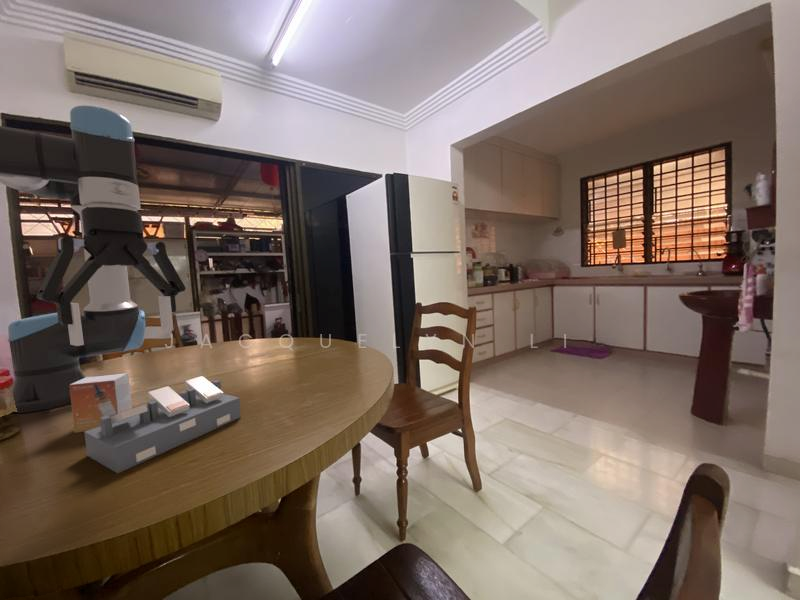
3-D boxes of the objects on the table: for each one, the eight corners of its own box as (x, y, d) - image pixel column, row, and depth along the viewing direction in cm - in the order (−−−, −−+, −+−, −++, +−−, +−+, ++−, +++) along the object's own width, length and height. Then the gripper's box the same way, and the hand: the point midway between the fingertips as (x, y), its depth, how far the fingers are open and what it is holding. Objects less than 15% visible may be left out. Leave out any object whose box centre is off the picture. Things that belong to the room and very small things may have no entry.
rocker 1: (105, 426, 58) (103, 418, 58) (129, 417, 61) (127, 410, 61) (123, 419, 54) (121, 411, 54) (147, 410, 57) (145, 403, 57)
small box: (73, 434, 66) (67, 384, 65) (91, 422, 72) (85, 376, 71) (119, 427, 68) (114, 379, 67) (133, 416, 74) (128, 372, 73)
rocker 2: (147, 397, 64) (148, 391, 64) (167, 391, 67) (168, 385, 67) (169, 417, 61) (169, 411, 60) (189, 409, 64) (189, 403, 64)
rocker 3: (184, 385, 70) (185, 380, 70) (201, 380, 73) (202, 375, 73) (206, 403, 67) (206, 397, 67) (222, 397, 70) (223, 391, 70)
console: (87, 455, 58) (81, 414, 57) (208, 408, 77) (205, 376, 76) (118, 473, 52) (112, 427, 51) (241, 417, 71) (238, 383, 70)
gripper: (6, 191, 41) (30, 356, 43) (199, 216, 62) (209, 326, 64) (-10, 199, 45) (12, 351, 46) (178, 221, 66) (188, 324, 68)
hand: (126, 337), depth 55 cm, fingers open, 12 cm apart
